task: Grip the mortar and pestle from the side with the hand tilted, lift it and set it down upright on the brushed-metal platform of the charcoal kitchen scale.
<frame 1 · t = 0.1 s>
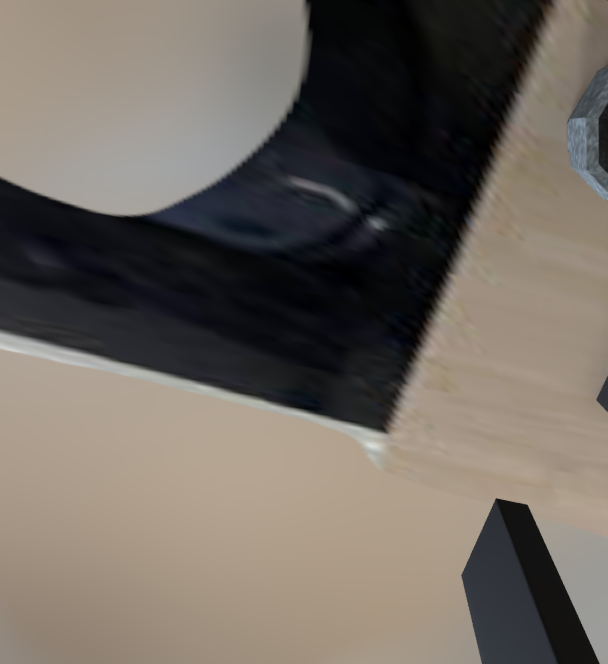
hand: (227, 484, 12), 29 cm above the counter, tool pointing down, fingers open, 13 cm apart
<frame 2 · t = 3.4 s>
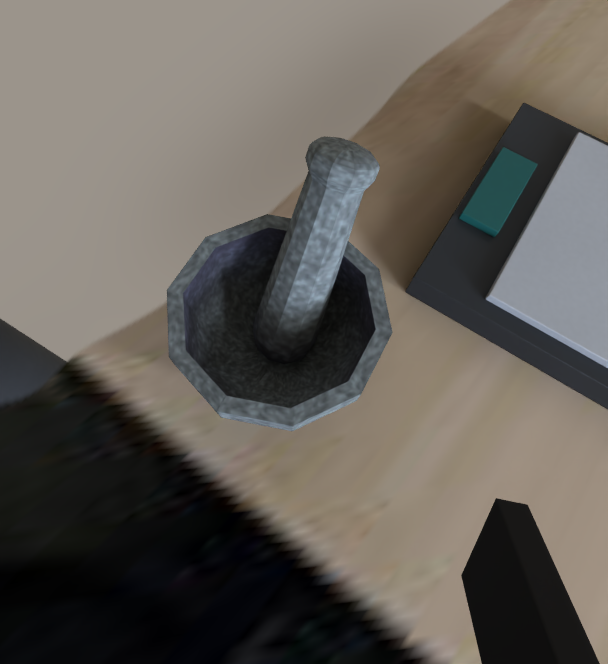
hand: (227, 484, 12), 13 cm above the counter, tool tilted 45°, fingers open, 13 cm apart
kitchen scale: (589, 269, 29), on the counter
mortar and pestle: (286, 349, 26), on the counter
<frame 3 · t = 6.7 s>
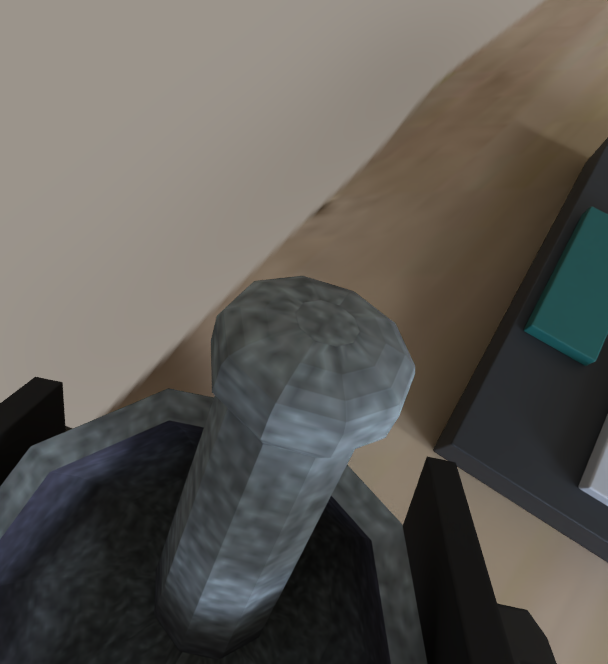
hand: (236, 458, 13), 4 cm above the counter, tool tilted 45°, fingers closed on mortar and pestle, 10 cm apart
mortar and pestle: (233, 563, 15), on the counter, touching gripper
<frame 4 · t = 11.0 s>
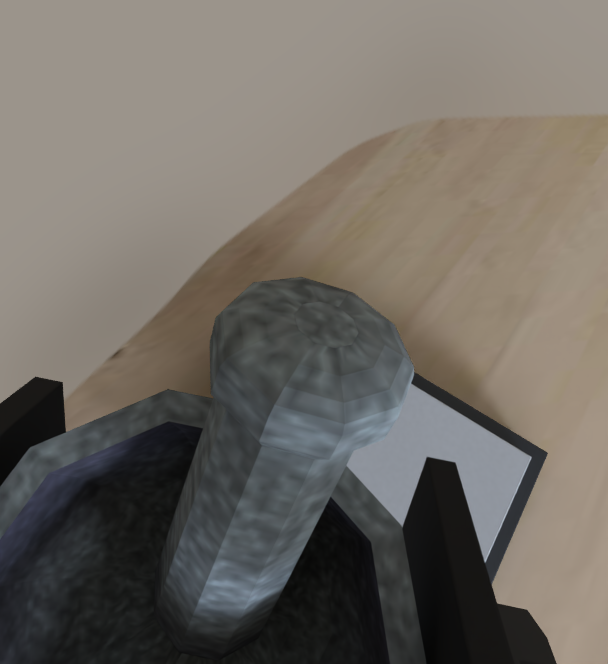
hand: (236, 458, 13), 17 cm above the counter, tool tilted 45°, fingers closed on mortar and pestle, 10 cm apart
kitchen scale: (352, 486, 29), on the counter
mortar and pestle: (233, 564, 15), point 13 cm above the counter, touching gripper
when the fingers open (7 cm above the counter, at t = 15.4 s): mortar and pestle stays where it is, resting on kitchen scale.
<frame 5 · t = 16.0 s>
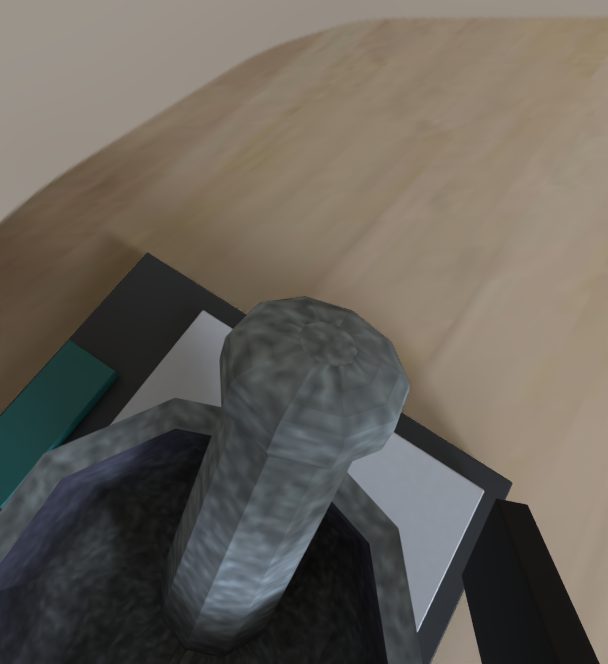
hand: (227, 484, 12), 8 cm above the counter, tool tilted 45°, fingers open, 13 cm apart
kitchen scale: (206, 531, 18), on the counter
mortar and pestle: (236, 564, 16), point 2 cm above the counter, touching kitchen scale
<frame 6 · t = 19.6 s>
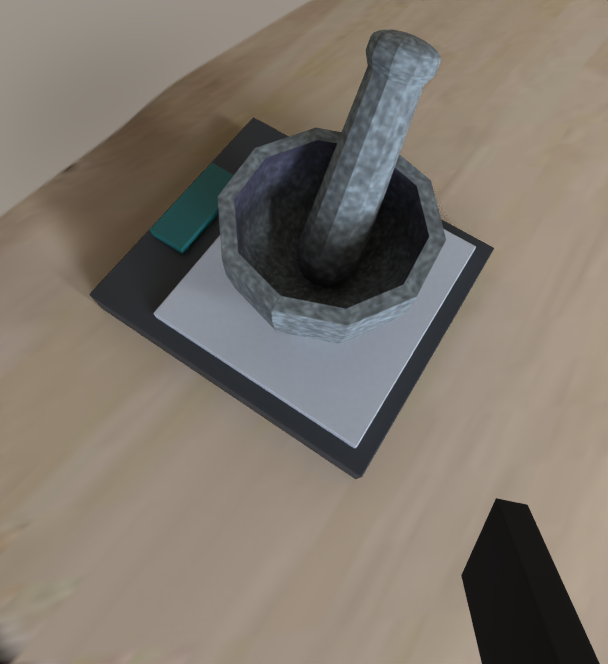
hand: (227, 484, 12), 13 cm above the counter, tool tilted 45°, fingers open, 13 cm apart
kitchen scale: (298, 285, 29), on the counter
mortar and pestle: (325, 281, 26), point 2 cm above the counter, touching kitchen scale
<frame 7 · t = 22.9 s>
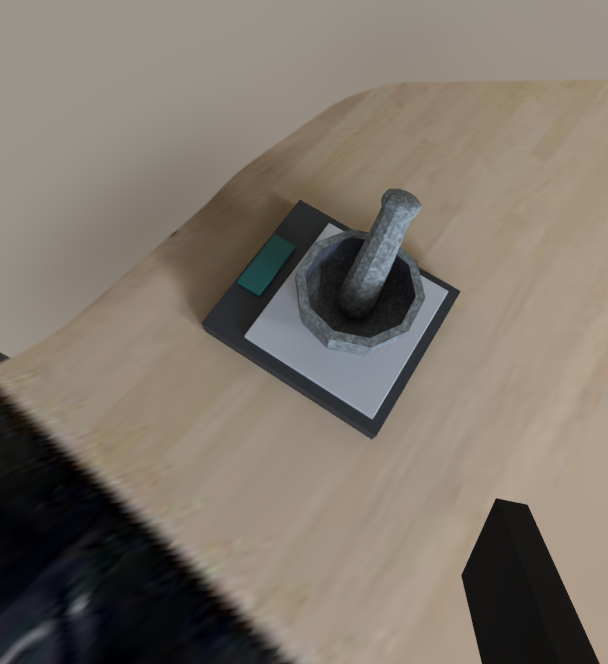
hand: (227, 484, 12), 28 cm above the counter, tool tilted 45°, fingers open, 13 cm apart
kitchen scale: (332, 315, 44), on the counter
mortar and pestle: (351, 314, 41), point 2 cm above the counter, touching kitchen scale
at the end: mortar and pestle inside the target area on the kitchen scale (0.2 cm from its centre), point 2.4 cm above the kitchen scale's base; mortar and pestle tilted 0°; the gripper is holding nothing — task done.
